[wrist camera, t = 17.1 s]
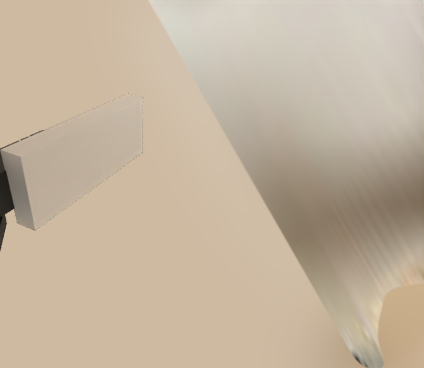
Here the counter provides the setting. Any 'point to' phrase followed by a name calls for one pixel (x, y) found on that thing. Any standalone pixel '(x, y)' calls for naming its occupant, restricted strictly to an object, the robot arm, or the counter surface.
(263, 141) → the counter surface
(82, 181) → the robot arm
